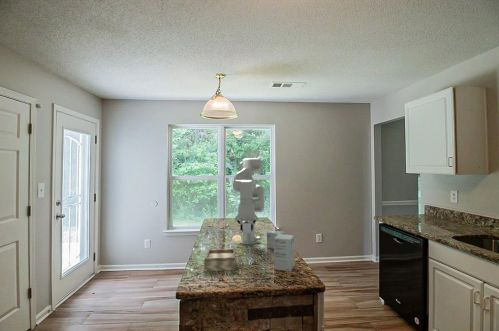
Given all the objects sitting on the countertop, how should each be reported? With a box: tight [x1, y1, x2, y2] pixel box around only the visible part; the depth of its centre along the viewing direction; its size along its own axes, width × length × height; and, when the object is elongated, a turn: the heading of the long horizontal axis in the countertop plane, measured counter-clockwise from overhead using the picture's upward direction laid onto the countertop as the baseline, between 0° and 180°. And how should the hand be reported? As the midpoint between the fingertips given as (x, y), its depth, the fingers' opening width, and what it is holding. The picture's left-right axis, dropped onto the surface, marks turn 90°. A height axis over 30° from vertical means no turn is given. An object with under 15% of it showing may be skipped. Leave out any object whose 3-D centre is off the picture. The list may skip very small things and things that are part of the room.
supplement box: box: [273, 234, 296, 272], centre depth 150 cm, size 10×9×17 cm
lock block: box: [242, 221, 251, 234], centre depth 167 cm, size 5×7×7 cm
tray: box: [204, 248, 236, 272], centre depth 154 cm, size 16×16×6 cm
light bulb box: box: [266, 230, 285, 250], centre depth 186 cm, size 11×7×11 cm, turn 65°
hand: (246, 230), depth 167 cm, fingers closed on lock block, 5 cm apart
